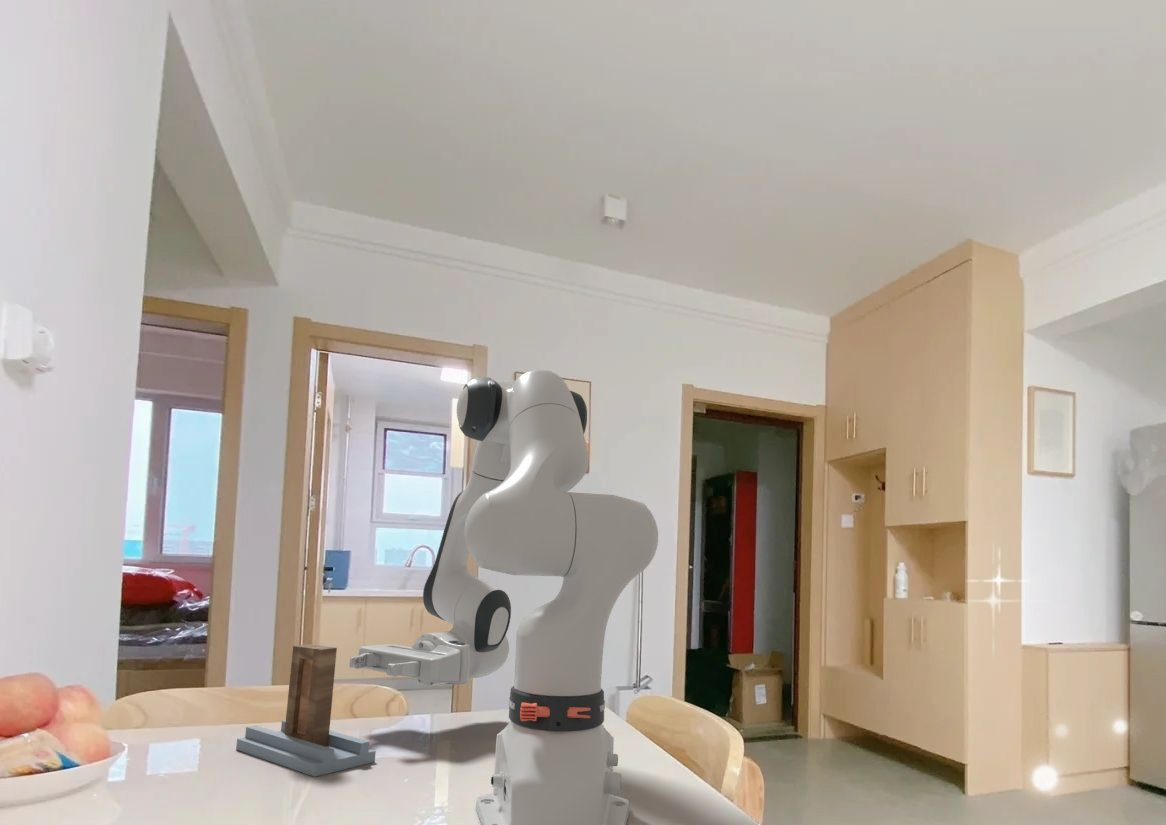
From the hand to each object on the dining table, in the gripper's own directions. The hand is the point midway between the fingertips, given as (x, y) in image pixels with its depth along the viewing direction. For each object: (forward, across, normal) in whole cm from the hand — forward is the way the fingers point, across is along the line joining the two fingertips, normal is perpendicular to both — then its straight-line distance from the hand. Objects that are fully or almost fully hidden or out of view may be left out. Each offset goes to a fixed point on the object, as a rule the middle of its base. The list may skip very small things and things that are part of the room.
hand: (370, 666), depth 122 cm
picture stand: (+11, 0, +12) cm, 16 cm away
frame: (+11, 0, +10) cm, 15 cm away
